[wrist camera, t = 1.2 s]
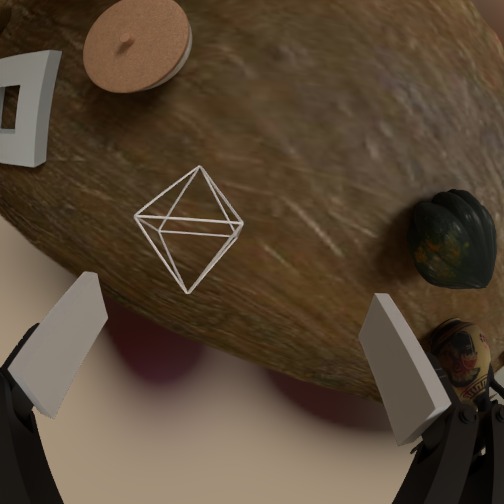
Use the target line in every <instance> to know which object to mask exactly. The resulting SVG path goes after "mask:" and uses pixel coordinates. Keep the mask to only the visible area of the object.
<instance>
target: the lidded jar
mask: <svg viewBox="0 0 504 504" xmlns="http://www.w3.org/2000/svg"><path fill="white" fill-rule="evenodd" d="M191 46H192V31H191V27H190V24H189V22H188V19H187V16H186V15H185V13H184V11H183V9H182V8H181V7H180V6H179V5H178V4H177V3H176V2H174V1H173V0H121V1H119V2H117V3H116V4H114V5H113V6H111V7H110V8H108V9H107V10H106V11H105V12H104V13H103V14H102V15H101V16H100V17H99V18H98V19H97V20H96V22H95V23H94V24H93V26H92V28H91V29H90V31H89V33H88V35H87V38H86V41H85V45H84V50H83V61H84V66H85V70H86V72H87V74H88V76H89V77H90V79H91V80H92V81H93V82H94V83H95V84H96V85H97V86H99V87H100V88H102V89H104V90H107V91H109V92H114V93H132V92H138V91H144V90H148V89H151V88H154V87H156V86H159V85H161V84H163V83H165V82H166V81H168V80H169V79H170V78H172V77H173V76H174V75H175V74H176V73H177V72H178V71H179V70H180V69H181V68H182V67H183V65H184V64H185V62H186V60H187V58H188V56H189V53H190V50H191Z"/></svg>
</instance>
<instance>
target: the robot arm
mask: <svg viewBox="0 0 504 504" xmlns="http://www.w3.org/2000/svg"><path fill="white" fill-rule="evenodd" d="M107 319H108V316H107V313H106V309H105V305H104V301H103V298H102V294H101V289H100V285H99V281H98V276H97V273H92V272H83V274H82V275H81V276H80V277H79V278H78V279H77V280H76V281H75V282H74V284H73V285H72V286H71V287H70V288H69V290H67V292H66V293H65V294H64V295H63V296H62V298H61V299H60V300H59V301H58V302H57V303H56V305H55V306H54V307H53V308H52V309H51V311H50V312H49V313H48V314H47V316H46V317H45V318H44V319H43V321H42V322H41V323H37V324H35V325H34V326H32V327H31V328H30V329H28V331H27V332H26V334H25V335H24V336H23V339H21V340H20V341H19V343H18V345H16V347H15V348H14V349H13V351H12V353H11V354H10V355H9V357H8V358H7V360H6V361H5V362H4V364H3V365H2V367H1V368H0V504H64V503H63V500H62V498H61V496H60V494H59V491H58V489H57V487H56V484H55V481H54V479H53V476H52V474H51V471H50V468H49V465H48V462H47V460H46V456H45V453H44V450H43V446H42V443H41V439H40V436H39V432H38V428H37V424H36V420H35V415H34V413H33V411H32V408H33V406H35V407H36V408H37V410H38V411H39V412H40V413H41V414H43V415H45V416H48V417H50V418H52V419H54V418H55V416H56V414H57V412H58V410H59V408H60V405H61V403H62V401H63V399H64V397H65V395H66V393H67V391H68V389H69V387H70V385H71V383H72V381H73V379H74V377H75V375H76V374H77V372H78V370H79V368H80V366H81V364H82V362H83V361H84V359H85V357H86V355H87V353H88V351H89V350H90V348H91V346H92V344H93V342H94V341H95V339H96V337H97V336H98V334H99V332H100V331H101V329H102V327H103V325H104V324H105V322H106V320H107ZM358 337H359V340H360V342H361V345H362V347H363V350H364V352H365V355H366V357H367V360H368V362H369V365H370V368H371V370H372V373H373V375H374V378H375V381H376V383H377V386H378V389H379V392H380V394H381V397H382V400H383V403H384V406H385V408H386V411H387V414H388V417H389V420H390V423H391V426H392V429H393V432H394V435H395V439H396V442H397V445H398V446H401V445H404V444H408V443H411V442H414V441H415V440H416V439H417V438H418V437H419V436H420V435H421V436H422V438H423V441H421V442H420V443H419V444H418V445H417V446H416V447H415V448H413V449H412V451H411V452H410V453H411V454H412V453H414V452H415V451H416V450H417V452H416V454H415V457H414V460H413V462H412V464H411V466H410V468H409V471H408V473H407V475H406V477H405V479H404V481H403V483H402V485H401V487H400V489H399V491H398V493H397V495H396V497H395V499H394V501H393V502H392V504H504V405H502V404H496V405H495V406H493V408H492V409H491V410H490V411H489V412H477V411H476V410H475V409H474V408H473V407H472V406H470V405H469V404H462V403H461V402H460V400H459V398H458V396H457V394H456V392H455V390H454V388H453V387H452V385H451V383H450V381H449V379H448V377H446V374H445V372H444V370H442V367H441V365H440V363H439V361H438V360H437V358H436V357H435V356H433V355H432V354H431V353H430V352H429V351H427V352H424V351H423V349H422V347H421V346H420V344H419V342H418V341H417V339H416V337H415V336H414V334H413V332H412V331H411V329H410V327H409V326H408V324H407V322H406V321H405V319H404V318H403V316H402V314H401V313H400V311H399V310H398V308H397V307H396V305H395V304H394V302H393V300H392V299H391V297H390V296H389V294H383V293H375V294H374V297H373V299H372V302H371V305H370V308H369V310H368V313H367V315H366V318H365V321H364V323H363V326H362V328H361V331H360V333H359V335H358ZM484 448H485V449H486V450H485V454H484V455H482V453H481V450H482V449H484Z"/></svg>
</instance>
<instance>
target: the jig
mask: <svg viewBox="0 0 504 504" xmlns="http://www.w3.org/2000/svg"><path fill="white" fill-rule="evenodd" d="M61 55H62V51H55V50H45V51H38V52H32V53H26V54H21V55H16V56H11V57H7V58H3V59H0V163H6V164H13V165H20V166H27V167H36V166H38V165H40V164H42V163H44V162H46V150H47V136H48V126H49V117H50V110H51V103H52V97H53V91H54V85H55V80H56V76H57V71H58V67H59V62H60V58H61ZM13 85H20V91H19V98H18V105H17V114H16V124H15V129H1V120H2V109H3V101H4V94H5V87H6V86H13Z"/></svg>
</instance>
